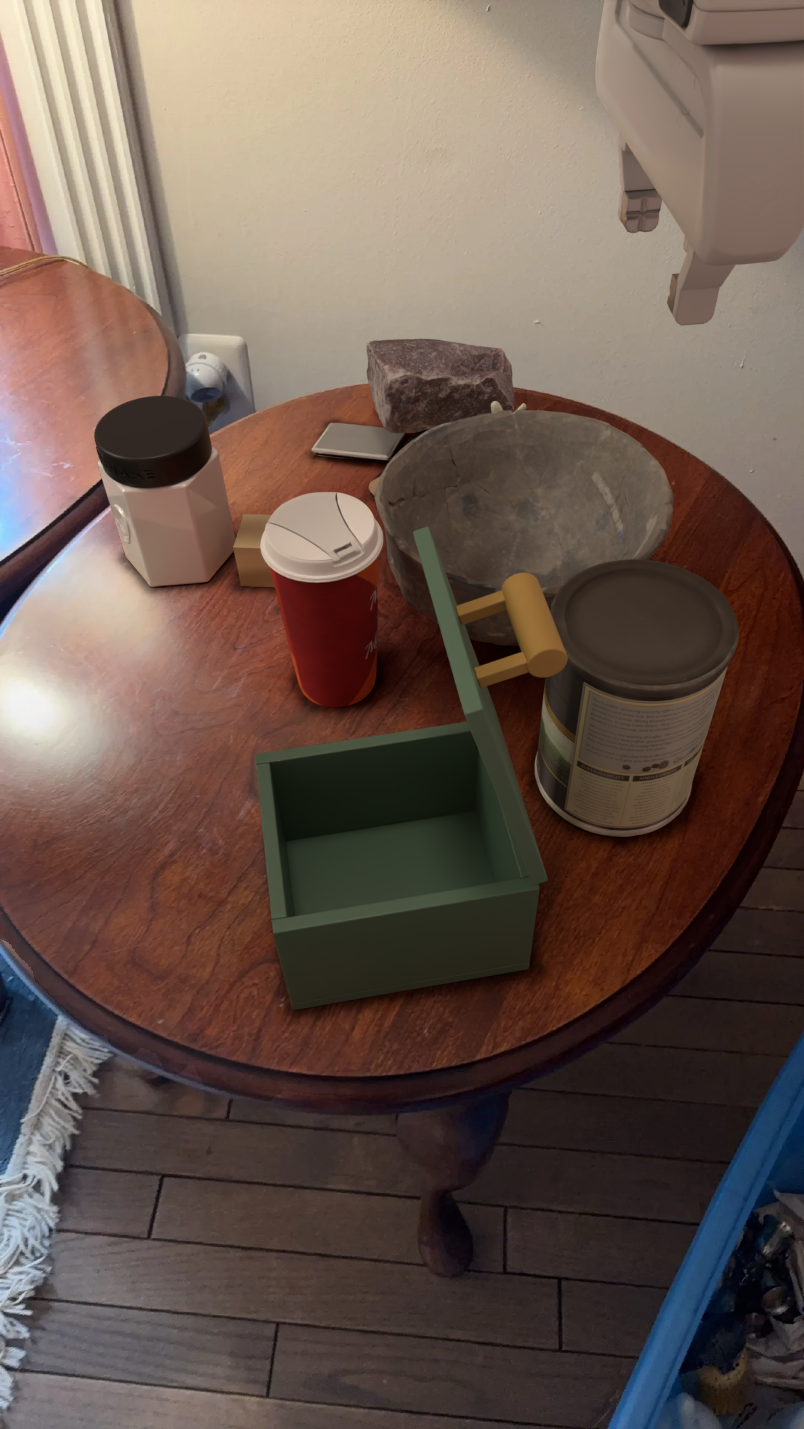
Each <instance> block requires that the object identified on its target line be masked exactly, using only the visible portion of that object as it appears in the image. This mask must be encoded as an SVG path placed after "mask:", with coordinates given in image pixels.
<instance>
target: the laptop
mask: <svg viewBox="0 0 804 1429" xmlns="http://www.w3.org/2000/svg"><path fill="white" fill-rule="evenodd" d="M406 434H407V433H391V432H389V431H388V430H386V429H385V428H384V426H373V425H372V426H371V425H361V424H352V423H343V422H330V423H329V424H328V425H327V427H326V428H325V430H324V431H323V432H322V433H321V435H320V436H319V438H318V439H317V441H316V442H315V444H314V445H313V446H312V448H311V452H312V453H315V454H314V455H315V456H318V457H327V458H328V457H329V458H336V459H346V460H355V461H362V462H363V461H365V462H373V463H374V462H375V463H384V464H388V463H389V462H390V461H391V459H392V458H393V457H394V456H395V455H396V454H397V453H398V451H399V448H400V446H401V444H402V442H403V440H404V438H405V436H406Z"/></svg>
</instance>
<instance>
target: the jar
mask: <svg viewBox="0 0 804 1429" xmlns="http://www.w3.org/2000/svg"><path fill="white" fill-rule="evenodd" d="M209 430H210V429H209V426H208V421H207V417H206V415H205V412H204V411H203V410H202V409H201V407H199V406H198V405H197V404H195V403H194V402H192V401H190V400H188V399H185V398H183V397H179V396H178V397H177V396H172V395H150V396H143V397H138V398H135V399H131V400H128V401H126V402H123V403H121V404H119V405H117V406H115V407H113V408H112V409H110V410H109V411H107V412H106V413H105V414H104V415H102V417H101V418H100V419H99V421H98V422H97V424H96V426H95V428H94V433H93V439H94V443H95V449H96V453H97V457H98V461H97V468H98V470H99V473H100V477H101V480H102V484H103V487H104V490H105V493H106V497H107V500H108V503H109V508H110V510H111V513H112V516H113V519H114V522H115V526H116V529H117V533H118V535H119V536H118V537H119V539H120V543H121V546H122V549H123V552H124V556H125V558H126V559H127V560H128V561H129V563H130V564H131V565H132V566H133V568H134V569H135V570H136V571H137V572H138V574H139V575H140V576H141V578H143V579H144V581H145V582H146V583H147V584H148V586H150V587H152V588H155V587H165V586H166V587H168V586H177V585H188V584H189V585H190V584H201V583H208V582H209V581H210V580H211V579H212V578H213V577H214V576H215V574H217V572H218V571H219V570H220V568H221V567H222V566H223V565H224V564H225V562H226V561H228V559H229V558H230V557H231V555H232V554H233V553H234V548H233V546H234V543H235V540H236V534H235V530H234V525H233V519H232V514H231V509H230V504H229V498H228V493H227V488H226V483H225V478H224V473H223V468H222V463H221V458H220V453H219V451H218V450H217V449H216V448H215V447H214V445H212V441H211V436H210V431H209Z"/></svg>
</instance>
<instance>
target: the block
mask: <svg viewBox="0 0 804 1429" xmlns="http://www.w3.org/2000/svg"><path fill="white" fill-rule="evenodd" d="M271 515H272V514H259V513H243V514H242V517H241V520H240V523H239V527H238V529H237V530H238V531H237V532H236V533H237V534H236V535H235V539H236V540H235V543H234V546H233V548H234V552H233V553H234V558H235V563H236V567H237V573H238V578H239V582H240V586H241V587H251V588H253V587H254V588H257V587H258V588H275V586H274V582H273V578H272V574H271V570H270V566H269V565H268V564H267V563H266V561H265V560H264V558H263V556H262V553H261V548H260V545H261V538H262V535H263V533H264V531H265V526H266V524H267V523H268V520H269V519H270V517H271Z"/></svg>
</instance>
